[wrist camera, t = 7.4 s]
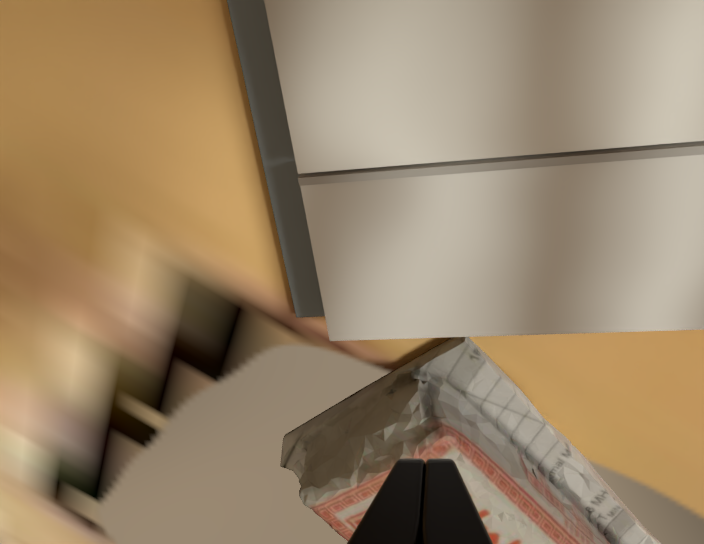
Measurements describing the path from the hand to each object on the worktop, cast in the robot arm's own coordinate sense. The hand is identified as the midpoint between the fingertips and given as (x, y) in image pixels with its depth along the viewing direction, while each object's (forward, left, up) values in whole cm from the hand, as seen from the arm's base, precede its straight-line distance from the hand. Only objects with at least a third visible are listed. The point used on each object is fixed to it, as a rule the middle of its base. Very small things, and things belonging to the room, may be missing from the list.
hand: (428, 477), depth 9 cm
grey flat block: (-4, +2, -12) cm, 13 cm away
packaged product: (-1, +16, -13) cm, 21 cm away
